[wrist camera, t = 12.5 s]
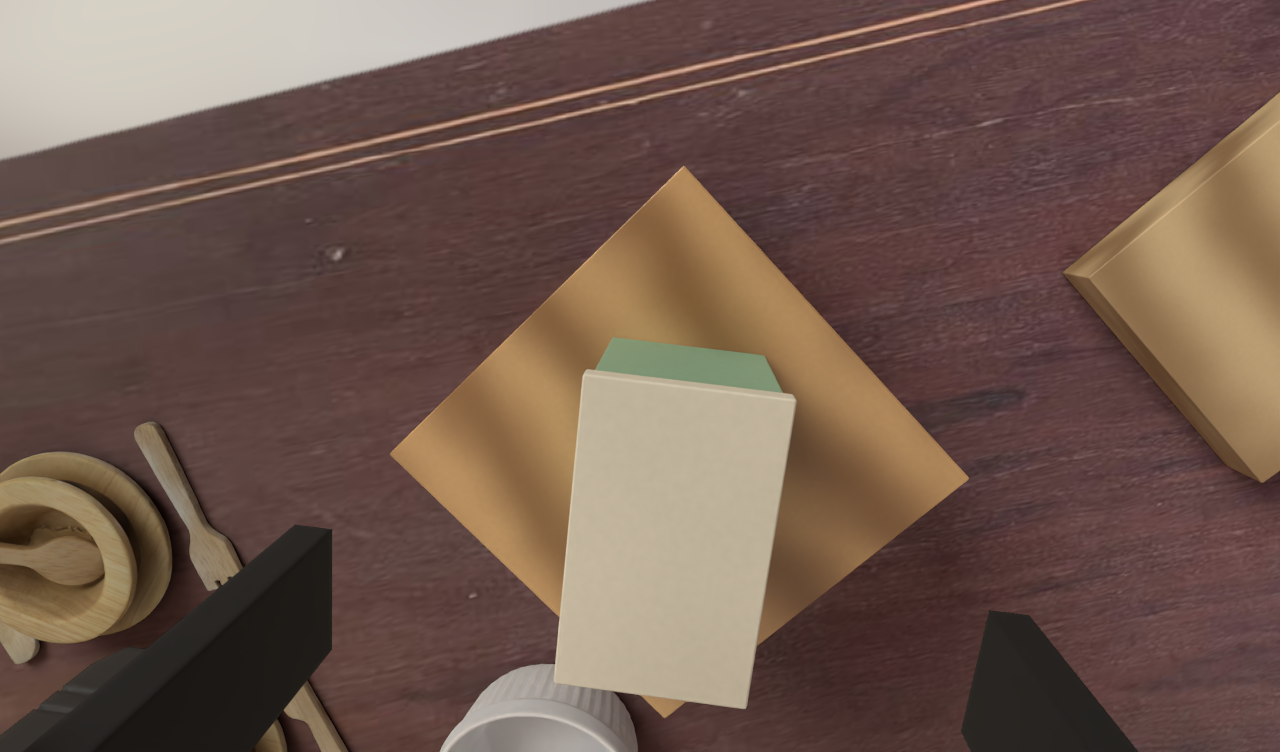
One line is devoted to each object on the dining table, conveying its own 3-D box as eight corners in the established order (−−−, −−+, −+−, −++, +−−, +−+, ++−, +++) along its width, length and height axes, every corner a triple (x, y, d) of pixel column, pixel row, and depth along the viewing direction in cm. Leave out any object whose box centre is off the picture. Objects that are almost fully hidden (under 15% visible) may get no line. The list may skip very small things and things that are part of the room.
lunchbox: (608, 331, 32) (582, 373, 24) (770, 351, 32) (797, 399, 24) (583, 575, 35) (552, 684, 27) (733, 595, 35) (746, 710, 27)
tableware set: (362, 772, 55) (323, 839, 49) (137, 848, 58) (76, 920, 52) (153, 402, 49) (81, 429, 43) (-84, 506, 52) (-181, 544, 46)
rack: (685, 175, 44) (683, 165, 30) (887, 396, 46) (970, 479, 33) (474, 381, 48) (388, 454, 34) (671, 577, 50) (664, 719, 36)
